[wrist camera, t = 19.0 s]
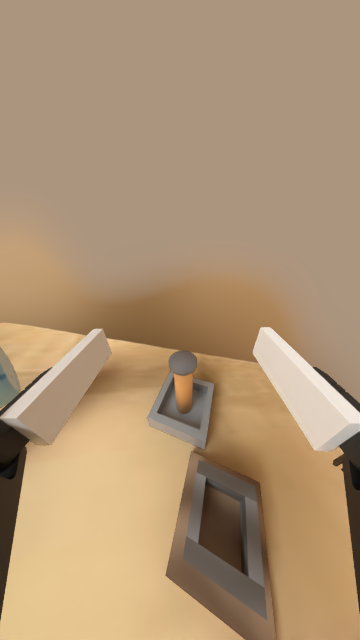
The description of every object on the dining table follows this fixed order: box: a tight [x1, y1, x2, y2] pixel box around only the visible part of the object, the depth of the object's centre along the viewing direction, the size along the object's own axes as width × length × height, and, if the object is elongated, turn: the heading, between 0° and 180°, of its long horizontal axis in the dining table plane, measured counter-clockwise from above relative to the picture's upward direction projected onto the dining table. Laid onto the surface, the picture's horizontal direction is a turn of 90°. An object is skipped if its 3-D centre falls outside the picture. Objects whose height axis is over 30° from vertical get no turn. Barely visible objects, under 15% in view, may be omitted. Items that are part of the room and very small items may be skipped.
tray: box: [147, 371, 214, 450], centre depth 34 cm, size 13×13×4 cm
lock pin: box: [169, 351, 197, 414], centre depth 30 cm, size 6×6×16 cm
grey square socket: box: [166, 451, 276, 640], centre depth 19 cm, size 12×12×6 cm
